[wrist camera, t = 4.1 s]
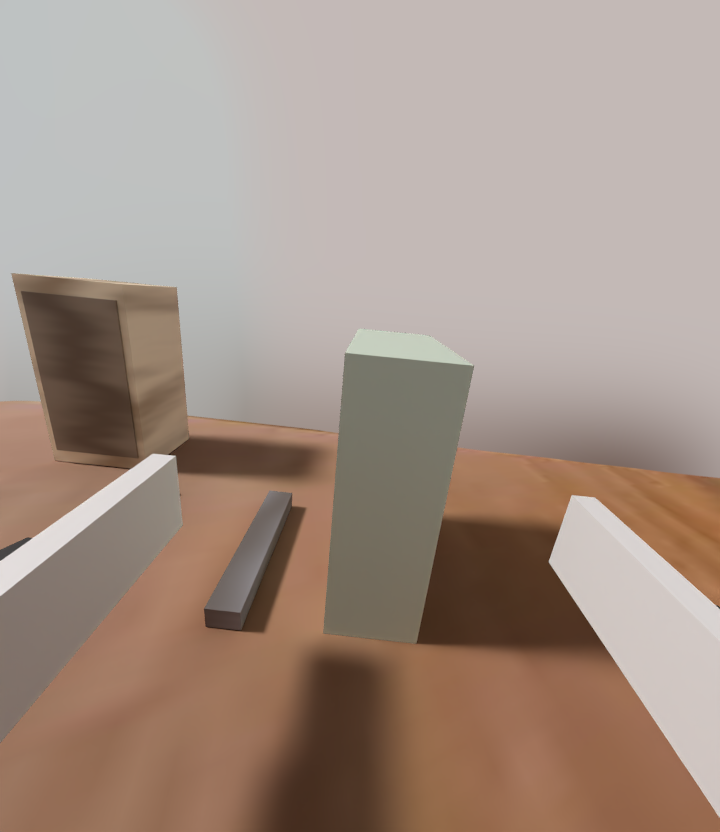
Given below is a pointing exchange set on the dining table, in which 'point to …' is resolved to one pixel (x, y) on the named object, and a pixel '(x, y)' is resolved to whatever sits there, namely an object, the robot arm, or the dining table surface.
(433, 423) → the pale green block
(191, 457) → the dining table surface
